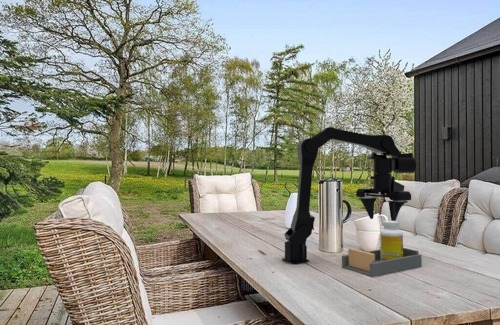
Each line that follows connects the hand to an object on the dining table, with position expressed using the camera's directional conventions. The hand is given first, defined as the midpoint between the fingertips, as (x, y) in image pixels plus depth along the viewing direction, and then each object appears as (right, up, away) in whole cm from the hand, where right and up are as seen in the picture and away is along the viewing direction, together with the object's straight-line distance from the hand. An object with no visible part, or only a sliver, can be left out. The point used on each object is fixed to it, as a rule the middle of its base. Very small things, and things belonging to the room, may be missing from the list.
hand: (382, 220), depth 129 cm
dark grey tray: (-4, -13, -11) cm, 17 cm away
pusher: (-11, -12, -15) cm, 22 cm away
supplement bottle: (0, -12, -9) cm, 15 cm away
